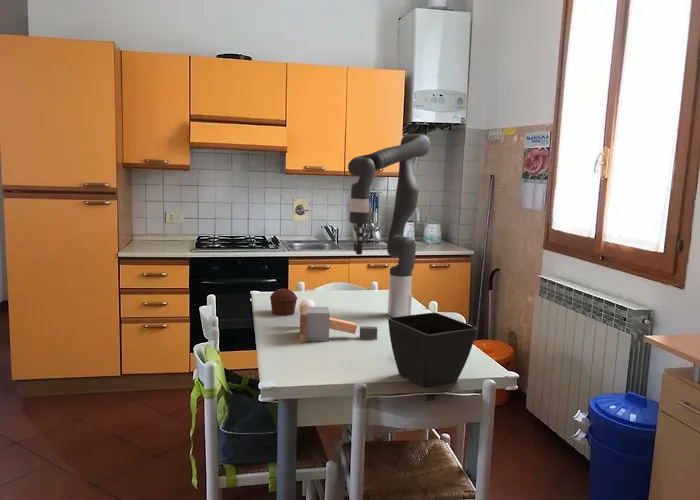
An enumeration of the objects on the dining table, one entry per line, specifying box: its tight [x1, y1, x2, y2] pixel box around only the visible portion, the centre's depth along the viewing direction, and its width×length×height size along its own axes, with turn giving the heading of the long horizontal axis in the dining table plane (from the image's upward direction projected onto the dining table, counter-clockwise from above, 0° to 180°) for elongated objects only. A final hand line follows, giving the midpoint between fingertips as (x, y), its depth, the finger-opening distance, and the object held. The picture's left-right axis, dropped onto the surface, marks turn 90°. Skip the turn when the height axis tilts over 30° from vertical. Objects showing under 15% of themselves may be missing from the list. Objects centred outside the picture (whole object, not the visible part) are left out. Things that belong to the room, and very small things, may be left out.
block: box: [306, 306, 331, 342], centre depth 209 cm, size 8×9×10 cm
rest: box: [359, 325, 378, 340], centre depth 212 cm, size 6×3×4 cm, turn 95°
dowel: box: [329, 317, 358, 335], centre depth 210 cm, size 16×3×3 cm, turn 95°
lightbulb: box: [298, 298, 316, 311], centre depth 222 cm, size 6×6×11 cm
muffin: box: [269, 288, 298, 317], centre depth 242 cm, size 12×11×10 cm
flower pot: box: [387, 312, 478, 388], centre depth 173 cm, size 19×19×17 cm
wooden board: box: [299, 305, 307, 344], centre depth 209 cm, size 2×14×10 cm, turn 6°
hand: (357, 252), depth 226 cm, fingers open, 8 cm apart
